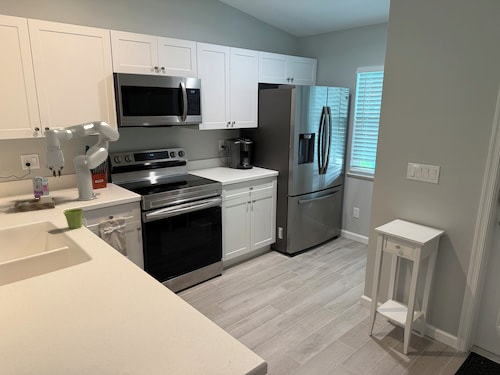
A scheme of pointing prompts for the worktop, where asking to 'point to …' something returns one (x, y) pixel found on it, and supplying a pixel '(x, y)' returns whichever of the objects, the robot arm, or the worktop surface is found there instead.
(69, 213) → the plant pot
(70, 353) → the worktop surface
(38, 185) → the candy bar box
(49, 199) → the cream block
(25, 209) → the box
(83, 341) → the worktop surface
